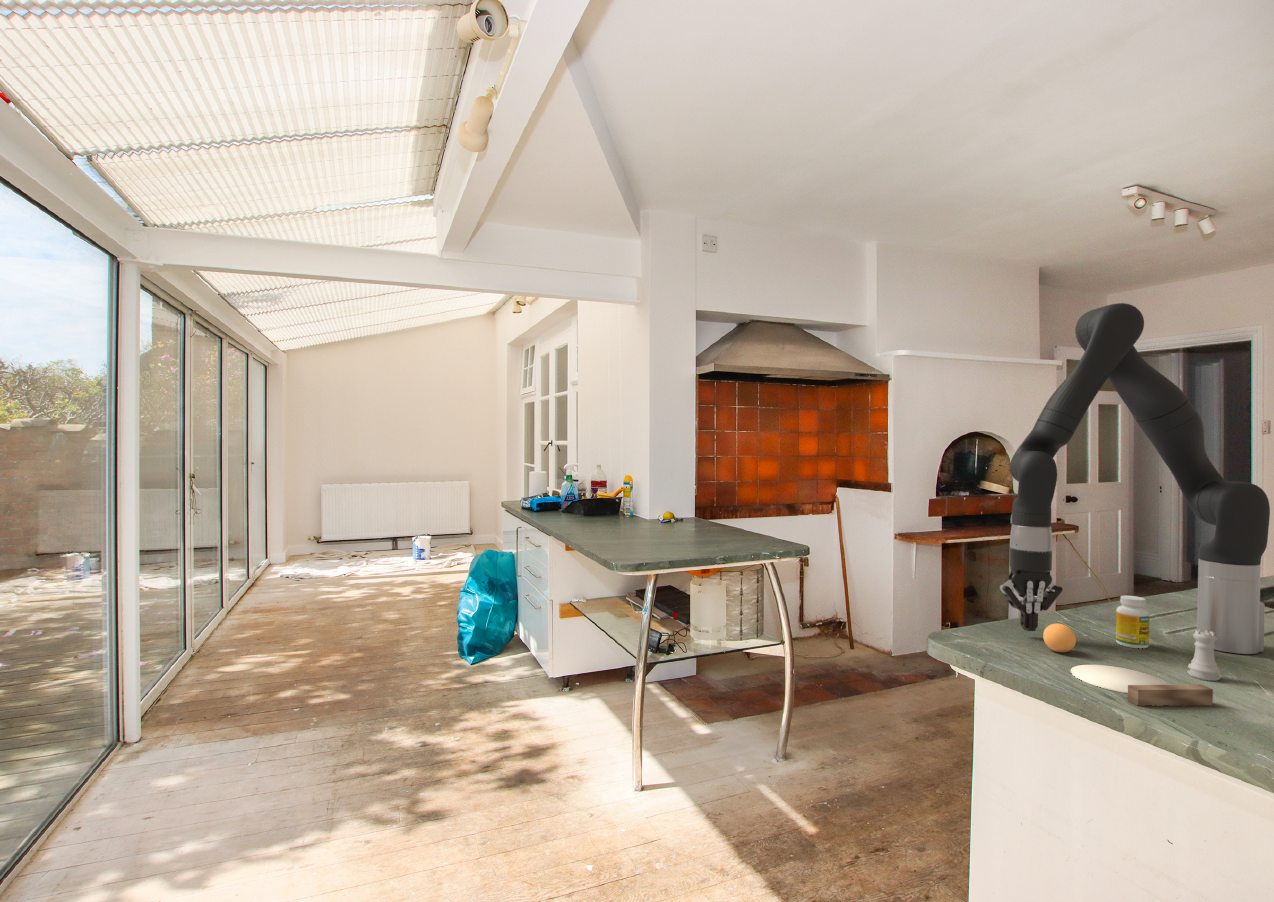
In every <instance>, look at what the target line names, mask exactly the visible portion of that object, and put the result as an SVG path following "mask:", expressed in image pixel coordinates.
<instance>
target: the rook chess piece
mask: <svg viewBox="0 0 1274 902" xmlns="http://www.w3.org/2000/svg"><path fill="white" fill-rule="evenodd" d="M1192 636H1193V638H1194V640H1195V643H1193V645H1194V647H1195V648H1194V649H1195V650H1194V655H1193V658H1192V660H1191V662H1190V663H1189V664H1188V666H1187V667H1188V669H1189V670H1187V673H1188V674H1189V676H1190V677H1192V678H1194V679H1196V680H1201V679H1202V680H1201V681H1206V680H1208V681H1207V682H1218V681H1219V680H1220V679H1222V676H1221V675H1220V674H1221V669H1220V668H1219V667H1218V664H1217V663H1216V660H1215V659H1216V658H1215V649H1214V648H1215V646H1214V642H1215V641H1216V640H1217V638H1216V637H1215V633H1214V632H1212V631H1210V633H1209V631H1208V630H1205V632H1202V630H1201V629H1198V630H1197V629H1195V631H1194V633H1193V634H1192Z"/></svg>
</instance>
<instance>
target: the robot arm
mask: <svg viewBox="0 0 1274 902" xmlns="http://www.w3.org/2000/svg"><path fill="white" fill-rule="evenodd" d="M1144 319H1145V317H1144V315H1143V313H1142V312H1141V311H1140V309H1138V307H1136V306H1135V305H1133V304H1130V303H1123V302H1120V303H1117V302H1116V303H1112V304H1107V305H1104V306H1101V307H1098V308H1097V307H1096V308H1095V309H1094V308H1093V309H1091V310H1089V311H1087V312H1085V313H1084V314H1082V315H1081V316H1080V317H1079V318H1078V319H1077V322H1076V324H1075V327H1074V328H1075V331H1074V332H1075V337H1076V340H1077V343H1078V344H1079V345H1080V347H1081V348H1082V349H1083V351H1084V353H1083V355H1082V356H1081V357H1080V360H1079V361H1078V362H1077V364H1076V365H1075V367H1074V368H1073V370H1072V371H1071V372H1070V374H1068V376H1067V377H1066V378H1065V379H1064V380H1063V382H1062V383H1061V384H1060V385H1059V386H1058V387H1057V388H1056V390H1055V391H1054V392H1053V393H1052V395H1051V396H1050V397H1049V399H1048V400H1047V402H1046V403H1045V404H1044V407H1043V409H1042V411H1041V413H1040V414H1039V415H1038V418H1037V420H1036V421H1035V423H1034V426H1033V427H1032V429H1031V431H1030V433H1029V434H1027V436H1026V437H1025V438H1024V440H1023V441H1022V442H1021V444H1020V445H1019V446H1018V448H1017V449H1016V450H1015V452H1014V454H1013V455H1012V458H1011V459H1010V462H1009V473H1010V476H1011V477H1012V478H1013V479H1014V480H1015V481H1017V482H1018V485H1017V488H1018V489H1017V496H1016V497H1015V498H1014V499H1013V501H1012V507H1011V528H1010V529H1011V530H1010V534H1009V535H1010V536H1009V537H1010V538H1009V567H1010V572H1009V574H1008V576H1007V577H1008V580H1007V581H1005V582H1004V583H1003V584H1002V583H999V584H998V585H997V589H998V590H999V592H1000V593H1001V594H1002V595H1003V597H1004V598H1005V600H1006V601H1007V602H1008V603H1009V605H1010V606H1011V607H1012V608H1014V609H1016V610H1019V612H1020V617H1019V618H1020V620H1019V621H1020V623H1019V624H1020V627H1022V630H1025V631H1027V632H1035V631H1036V629H1038V626H1039V614H1040V612H1043V611H1048V610H1049V608H1051V606H1052V605H1053V604H1054V602H1055V601H1056V600H1057V598H1058V597H1059V595H1060V594H1062V592H1063V587H1061V585H1060V586H1059V585H1057V584H1056V583H1055V582H1054V581H1053V577H1052V575H1051V571H1052V568H1053V567H1052V565H1053V531H1052V502H1053V499H1054V496H1055V495H1054V494H1055V491H1056V487H1057V486H1056V485H1057V482H1058V467H1057V463H1056V461H1055V459H1054V458H1055V456H1056V454H1057V453H1058V452H1059V450H1060V449H1061V448H1062V447H1065V446H1066V445H1067V444H1068V443H1069V442H1070V441H1071V439H1072V438H1073V436H1074V435H1075V432H1076V430H1077V429H1078V427H1079V425H1080V423H1081V422H1082V420H1083V418H1084V416H1085V414H1086V412H1087V411H1088V409H1089V407H1090V406H1091V404H1092V403H1093V401H1094V399H1095V398H1096V396H1097V395H1098V393H1099V392H1100V390H1101V389H1102V387H1103V386H1104V384H1105V383H1106V382H1107V380H1109V382H1110V384H1111V385H1112V386H1113V388H1114V390H1115V391H1116V392H1117V395H1118V396H1119V397H1120V398H1121V400H1122V402H1123V403H1124V404H1125V406H1126V407H1127V409H1128V411H1129V412H1130V414H1131V415H1132V417H1133V418H1134V421H1136V423H1137V425H1138V427H1140V428H1141V431H1142V432H1143V433H1144V435H1145V436H1146V437H1147V438H1148V440H1149V441H1150V443H1151V444H1152V446H1154V447H1153V448H1154V449H1155V450H1156V452H1157V454H1159V457H1160V458H1161V460H1163V462H1164V464H1165V465H1166V466H1167V467H1168V469H1169V471H1170V472H1171V474H1172V475H1173V477H1174V479H1175V481H1176V483H1177V485H1178V487H1179V490H1180V491H1181V493H1182V495H1183V497H1184V500H1185V501H1186V502H1187V505H1188V506H1189V508H1190V509H1191V511H1192V513H1193V514H1194V515H1195V516H1196V518H1198V519H1199V520H1201V521H1202V522H1204V523H1206V524H1210V525H1212V526H1215V531H1214V532H1215V533H1214V536H1213V538H1212V539H1211V540H1210V541H1208V542H1205V543H1202V544H1201V545H1200V546H1199V548H1198V562H1197V563H1198V567H1197V570H1198V571H1197V575H1198V576H1197V609H1196V611H1197V614H1196V630H1198V629H1201V630H1202V632H1205V630H1208V631H1209V633H1210V631H1212V632H1214V633H1215V637H1216V638H1217V640H1216V641H1215V642H1214V646H1215V648H1214V651H1215V650H1216V651H1220V652H1225V653H1226V652H1227V653H1231V654H1232V653H1233V654H1241V655H1255V654H1256V655H1257V654H1258V653H1259V652H1264V650H1265V649H1264V648H1265V647H1264V646H1265V612H1266V611H1265V610H1266V609H1265V606H1266V605H1265V602H1262V601H1261V569H1262V568H1261V566H1262V565H1261V563H1262V556H1263V554H1265V551H1266V549H1267V546H1268V540H1269V539H1268V538H1269V528H1270V520H1271V519H1270V516H1271V508H1270V500H1269V497H1268V496H1267V493H1266V492H1265V491H1264V489H1263V488H1261V487H1260V486H1258V485H1256V484H1254V483H1252V482H1251V483H1250V482H1246V481H1233V480H1226V479H1225V478H1224V477H1223V476H1222V475H1221V474H1220V472H1219V471H1218V470H1217V468H1215V466H1214V465H1213V463H1212V461H1211V460H1210V458H1209V457H1208V455H1207V452H1206V448H1205V429H1204V423H1203V419H1202V417H1201V416H1200V415H1199V413H1198V411H1197V410H1196V408H1195V407H1194V406H1193V404H1192V402H1191V401H1190V399H1189V398H1188V397H1187V395H1186V394H1185V392H1184V391H1183V390H1182V389H1181V388H1180V387H1179V386H1178V385H1176V384H1175V383H1174V382H1173V381H1172V380H1170V379H1169V378H1167V377H1166V376H1165V375H1163V374H1162V373H1160V371H1158V370H1157V369H1155V368H1154V367H1153V366H1151V365H1150V364H1149V363H1148V362H1147V361H1146V360H1145V359H1144V358H1143V357H1142V356H1141V354H1140V353H1139V352H1138V350H1137V349H1136V347H1135V346H1134V345H1135V344H1136V343H1137V342H1138V340H1139V339H1140V337H1141V336H1142V334H1143V331H1144V327H1145V320H1144ZM1014 592H1016V594H1015V593H1014Z"/></svg>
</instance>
